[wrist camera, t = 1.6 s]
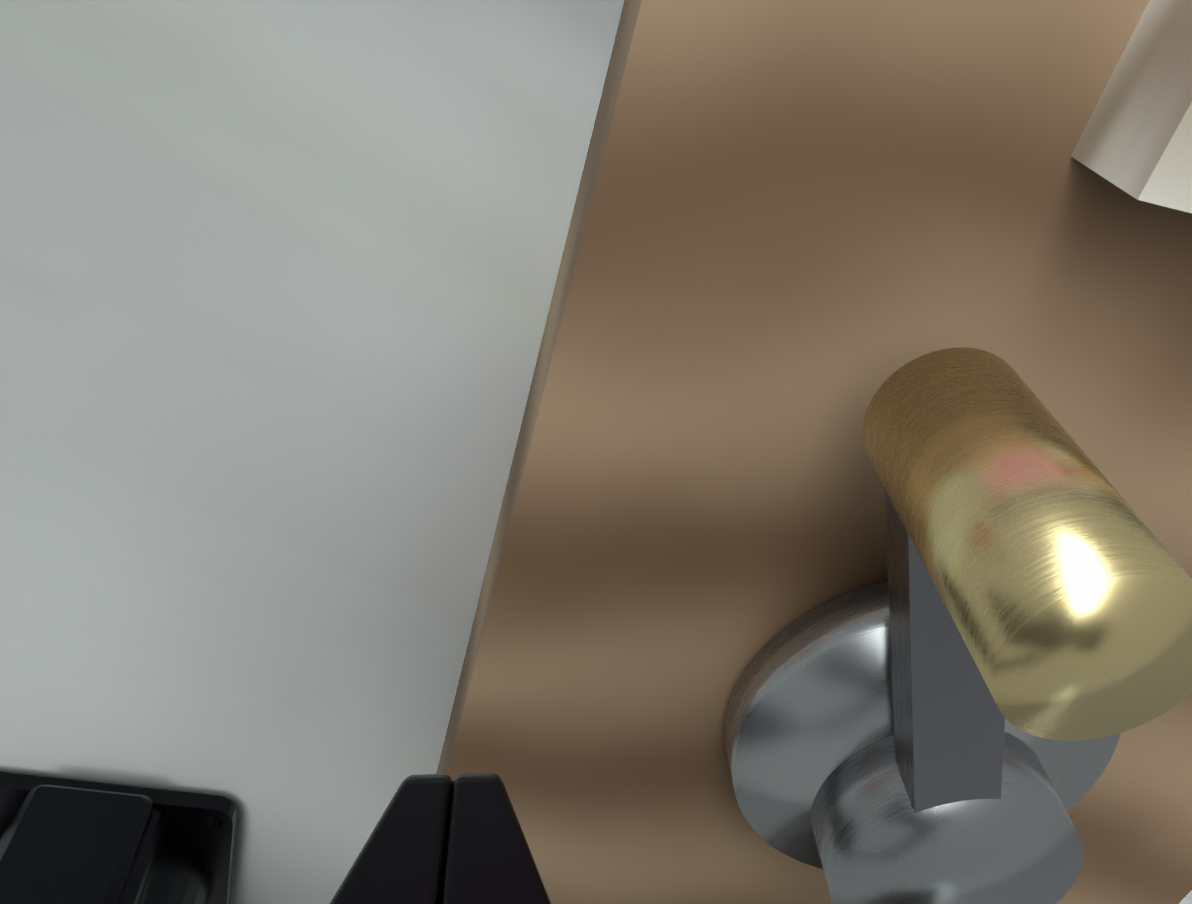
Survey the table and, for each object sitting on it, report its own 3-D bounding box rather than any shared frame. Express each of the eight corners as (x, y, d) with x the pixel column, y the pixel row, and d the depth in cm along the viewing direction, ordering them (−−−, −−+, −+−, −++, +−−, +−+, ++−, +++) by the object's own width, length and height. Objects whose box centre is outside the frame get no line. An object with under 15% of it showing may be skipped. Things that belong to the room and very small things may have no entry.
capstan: (1080, 798, 23) (1270, 1142, 17) (745, 854, 24) (816, 1208, 18) (1148, 235, 16) (1533, 505, 10) (650, 335, 16) (719, 651, 10)
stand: (1078, 910, 30) (1154, 1064, 26) (420, 841, 27) (402, 1008, 23) (1745, 129, 18) (2065, 215, 14) (671, -195, 14) (721, -195, 10)
